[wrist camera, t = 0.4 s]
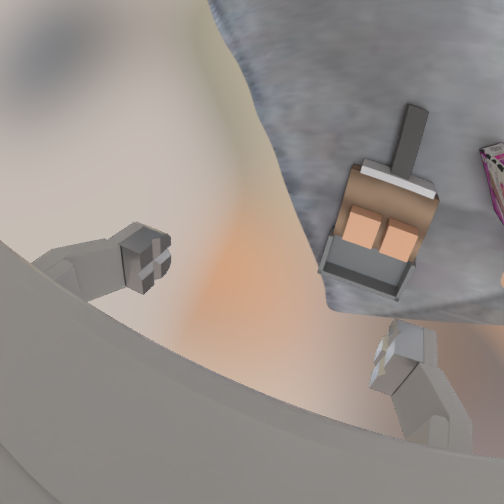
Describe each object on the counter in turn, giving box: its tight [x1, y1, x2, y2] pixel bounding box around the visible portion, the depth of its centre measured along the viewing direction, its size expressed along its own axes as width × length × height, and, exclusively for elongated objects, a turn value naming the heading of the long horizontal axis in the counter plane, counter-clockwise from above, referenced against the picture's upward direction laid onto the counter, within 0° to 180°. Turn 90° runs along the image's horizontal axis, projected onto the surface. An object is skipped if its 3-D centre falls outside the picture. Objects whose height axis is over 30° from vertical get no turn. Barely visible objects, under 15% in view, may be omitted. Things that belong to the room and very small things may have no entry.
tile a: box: [342, 205, 382, 249], centre depth 49 cm, size 5×5×3 cm
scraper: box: [360, 104, 436, 199], centre depth 42 cm, size 12×12×5 cm
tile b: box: [379, 218, 418, 262], centre depth 48 cm, size 5×5×3 cm
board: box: [333, 164, 440, 262], centre depth 49 cm, size 12×15×3 cm
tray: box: [318, 226, 416, 302], centre depth 55 cm, size 8×16×4 cm, turn 81°
